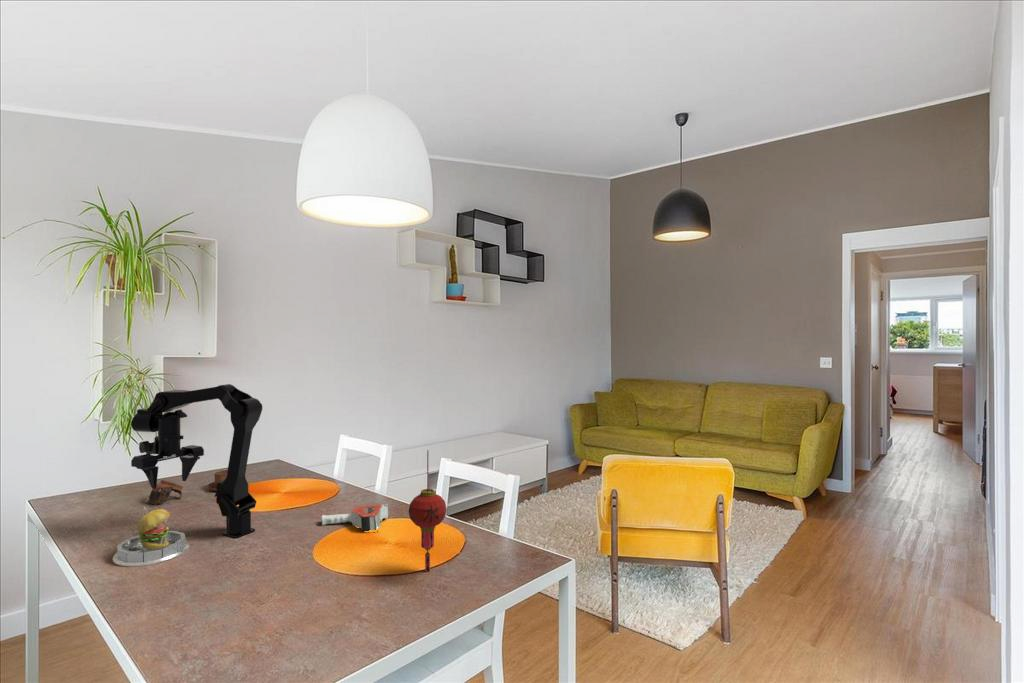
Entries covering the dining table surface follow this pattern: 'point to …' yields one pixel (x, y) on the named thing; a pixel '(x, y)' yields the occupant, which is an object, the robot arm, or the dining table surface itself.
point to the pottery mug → (164, 492)
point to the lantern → (427, 516)
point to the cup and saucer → (217, 479)
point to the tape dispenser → (360, 517)
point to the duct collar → (149, 551)
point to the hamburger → (153, 529)
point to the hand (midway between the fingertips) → (169, 484)
